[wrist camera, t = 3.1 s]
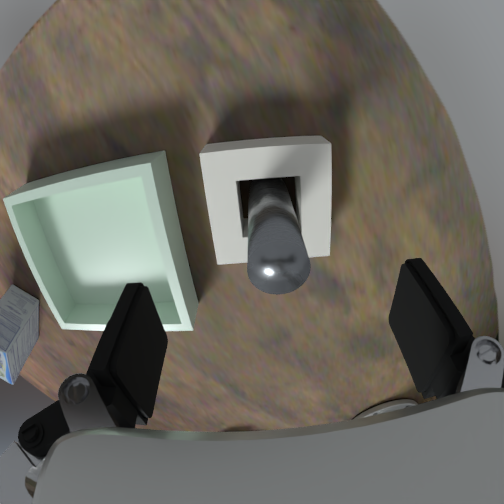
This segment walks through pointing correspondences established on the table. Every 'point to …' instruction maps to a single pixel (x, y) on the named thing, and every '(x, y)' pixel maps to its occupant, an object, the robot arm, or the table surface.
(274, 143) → the pin holder
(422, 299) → the robot arm
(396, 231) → the table surface
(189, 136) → the table surface
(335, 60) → the table surface
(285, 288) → the lock pin
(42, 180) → the tray
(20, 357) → the medicine box
